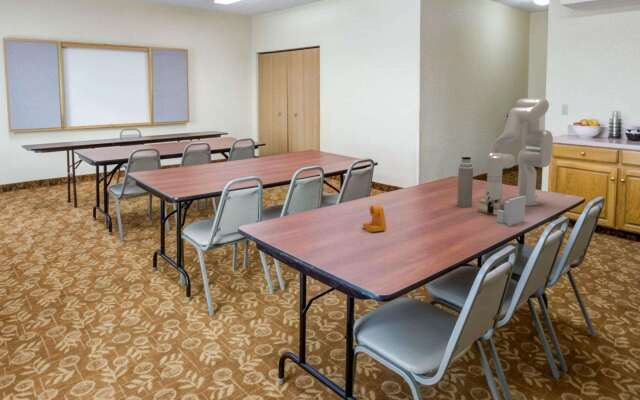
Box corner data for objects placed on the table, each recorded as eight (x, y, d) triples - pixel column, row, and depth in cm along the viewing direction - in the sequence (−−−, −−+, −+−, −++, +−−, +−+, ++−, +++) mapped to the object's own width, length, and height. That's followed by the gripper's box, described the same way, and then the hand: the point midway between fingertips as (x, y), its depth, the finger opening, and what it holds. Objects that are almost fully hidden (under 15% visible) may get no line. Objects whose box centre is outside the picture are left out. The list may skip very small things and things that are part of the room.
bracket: (362, 228, 245) (362, 204, 242) (375, 226, 247) (375, 202, 245) (372, 233, 235) (373, 208, 232) (386, 231, 238) (386, 207, 235)
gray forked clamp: (494, 222, 249) (495, 197, 246) (509, 218, 257) (510, 193, 254) (509, 226, 243) (511, 199, 240) (524, 221, 251) (525, 196, 248)
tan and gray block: (482, 209, 275) (482, 198, 274) (509, 215, 262) (510, 203, 261) (477, 211, 272) (477, 200, 271) (504, 216, 260) (505, 205, 258)
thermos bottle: (470, 204, 289) (473, 156, 283) (472, 207, 281) (474, 158, 275) (456, 204, 291) (458, 156, 285) (457, 207, 283) (459, 158, 277)
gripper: (497, 175, 271) (495, 208, 275) (478, 180, 261) (477, 213, 265) (509, 177, 265) (508, 211, 270) (491, 181, 256) (489, 216, 260)
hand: (492, 212), depth 267 cm, fingers closed on tan and gray block, 4 cm apart
